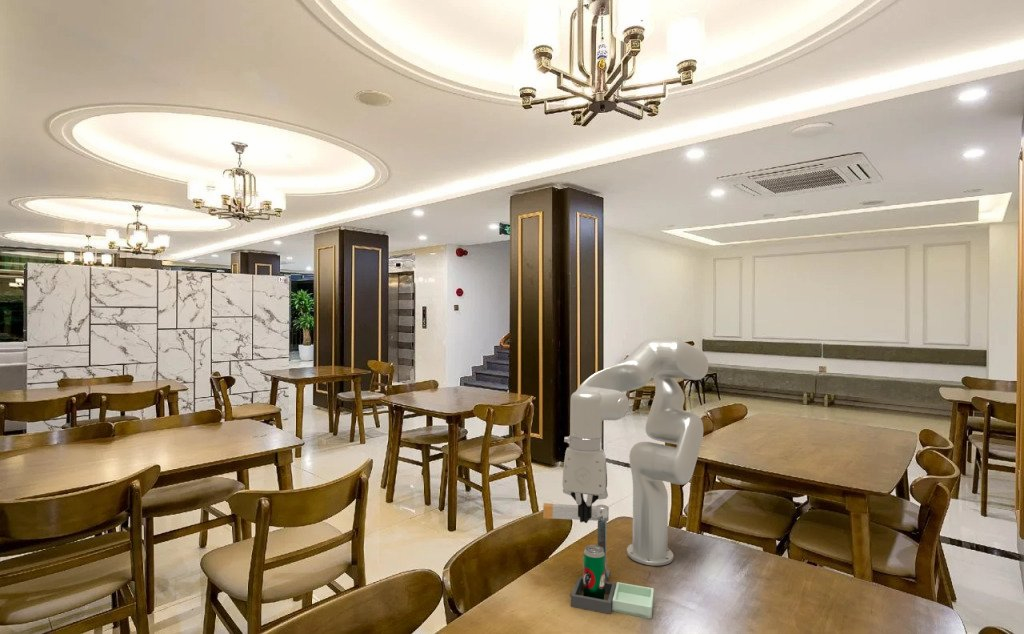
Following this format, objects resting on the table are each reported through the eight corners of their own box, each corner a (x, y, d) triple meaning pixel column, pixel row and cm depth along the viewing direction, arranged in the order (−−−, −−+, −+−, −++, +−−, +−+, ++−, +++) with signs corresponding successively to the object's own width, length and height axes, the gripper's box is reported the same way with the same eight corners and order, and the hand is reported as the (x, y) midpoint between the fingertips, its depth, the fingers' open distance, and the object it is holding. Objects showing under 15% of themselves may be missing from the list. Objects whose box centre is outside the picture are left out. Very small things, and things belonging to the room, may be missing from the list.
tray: (617, 592, 121) (617, 582, 121) (653, 599, 118) (653, 588, 118) (612, 611, 113) (612, 600, 113) (651, 618, 110) (651, 607, 110)
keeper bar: (607, 517, 131) (608, 505, 131) (609, 522, 128) (609, 509, 128) (543, 514, 132) (543, 501, 133) (543, 518, 129) (543, 506, 129)
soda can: (604, 607, 115) (605, 554, 115) (582, 604, 116) (582, 552, 116) (605, 595, 120) (605, 545, 120) (583, 593, 121) (584, 543, 121)
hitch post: (595, 571, 131) (596, 517, 132) (609, 573, 130) (610, 519, 130) (590, 588, 123) (590, 529, 123) (604, 590, 122) (605, 532, 122)
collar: (578, 586, 124) (578, 576, 124) (615, 593, 121) (616, 583, 121) (570, 606, 115) (570, 595, 115) (610, 614, 112) (610, 603, 112)
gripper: (551, 443, 119) (550, 521, 119) (614, 450, 114) (613, 531, 113) (559, 437, 126) (558, 510, 126) (619, 443, 121) (618, 519, 120)
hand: (584, 520), depth 119 cm, fingers closed
